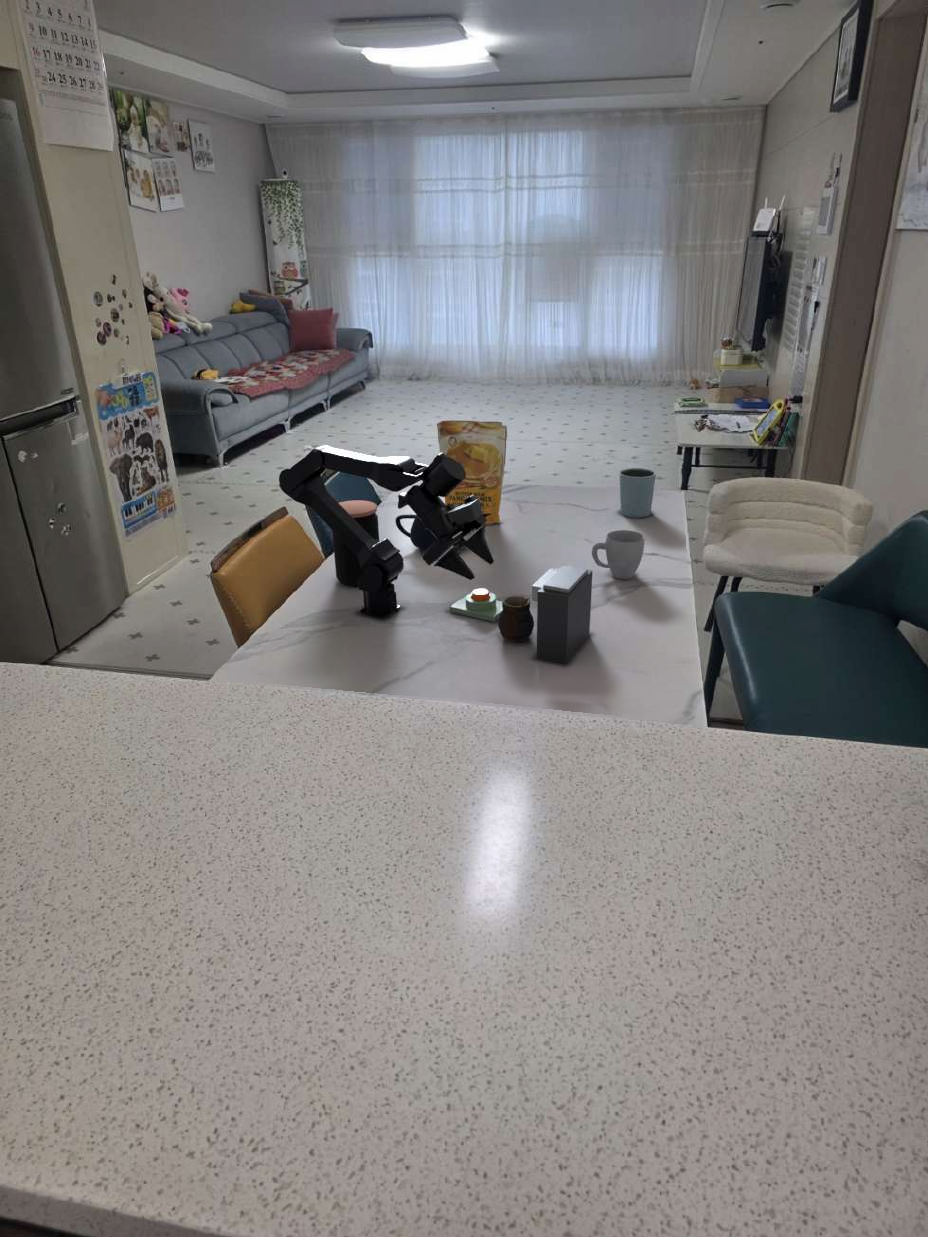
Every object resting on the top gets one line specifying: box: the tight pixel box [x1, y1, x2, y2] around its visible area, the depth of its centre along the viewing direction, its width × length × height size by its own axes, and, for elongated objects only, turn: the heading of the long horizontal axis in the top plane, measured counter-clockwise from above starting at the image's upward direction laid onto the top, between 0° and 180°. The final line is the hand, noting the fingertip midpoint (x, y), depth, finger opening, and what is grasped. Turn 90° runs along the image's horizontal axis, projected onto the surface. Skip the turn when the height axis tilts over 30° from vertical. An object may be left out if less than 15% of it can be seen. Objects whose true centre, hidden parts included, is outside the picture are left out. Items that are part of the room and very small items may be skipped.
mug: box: [591, 529, 646, 580], centre depth 193 cm, size 12×9×10 cm
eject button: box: [471, 588, 490, 601], centre depth 177 cm, size 4×4×2 cm
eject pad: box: [449, 592, 503, 623], centre depth 178 cm, size 11×8×3 cm
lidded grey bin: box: [531, 565, 593, 665], centre depth 160 cm, size 8×14×15 cm, turn 154°
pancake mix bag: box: [436, 420, 508, 526], centre depth 229 cm, size 7×19×28 cm, turn 77°
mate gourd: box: [497, 595, 535, 643], centre depth 164 cm, size 7×8×10 cm
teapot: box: [394, 513, 491, 553], centre depth 212 cm, size 25×16×12 cm, turn 81°
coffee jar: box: [331, 499, 380, 588], centre depth 192 cm, size 11×11×18 cm
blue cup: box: [618, 467, 657, 519], centre depth 235 cm, size 10×10×12 cm
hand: (483, 570), depth 164 cm, fingers open, 9 cm apart
